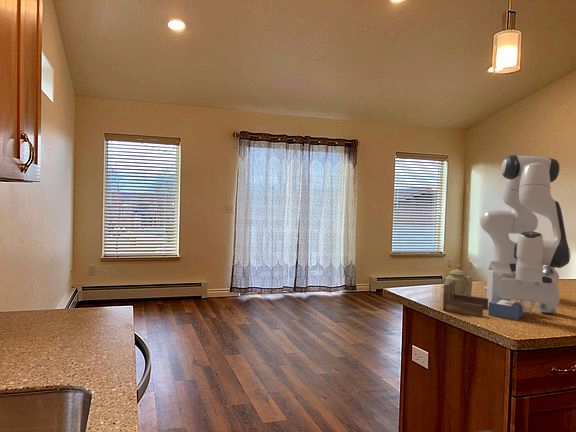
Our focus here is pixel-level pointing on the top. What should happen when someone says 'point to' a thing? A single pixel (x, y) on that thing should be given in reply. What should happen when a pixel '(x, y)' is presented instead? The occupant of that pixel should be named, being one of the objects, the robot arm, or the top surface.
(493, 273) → the milk carton
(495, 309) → the navy carton
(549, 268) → the plastic bottle
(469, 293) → the sugar bowl
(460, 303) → the stand
